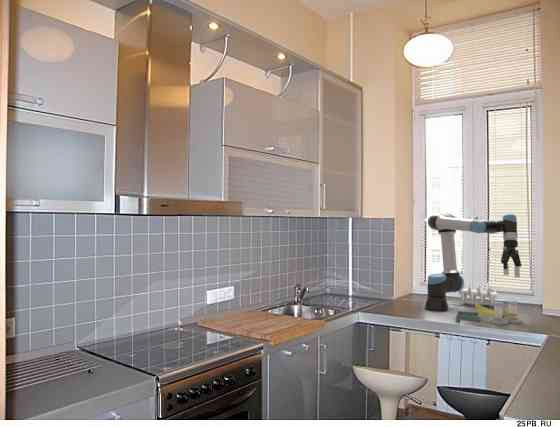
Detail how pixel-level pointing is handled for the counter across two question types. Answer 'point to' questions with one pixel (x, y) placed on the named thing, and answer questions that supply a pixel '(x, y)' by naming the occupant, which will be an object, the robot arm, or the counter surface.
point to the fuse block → (505, 321)
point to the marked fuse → (512, 310)
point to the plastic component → (487, 311)
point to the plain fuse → (498, 311)
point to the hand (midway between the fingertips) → (511, 276)
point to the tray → (467, 316)
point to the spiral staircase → (478, 293)
